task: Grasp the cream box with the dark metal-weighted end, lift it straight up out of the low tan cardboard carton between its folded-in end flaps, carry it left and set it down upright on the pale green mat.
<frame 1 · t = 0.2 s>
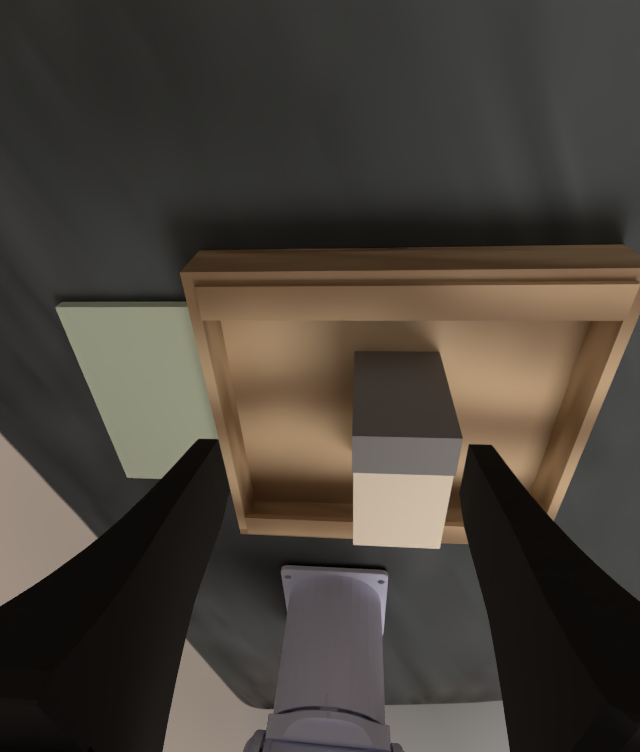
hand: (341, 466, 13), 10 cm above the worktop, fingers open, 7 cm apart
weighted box: (392, 407, 23), resting on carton
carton: (392, 402, 24), on the worktop
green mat: (160, 398, 25), on the worktop
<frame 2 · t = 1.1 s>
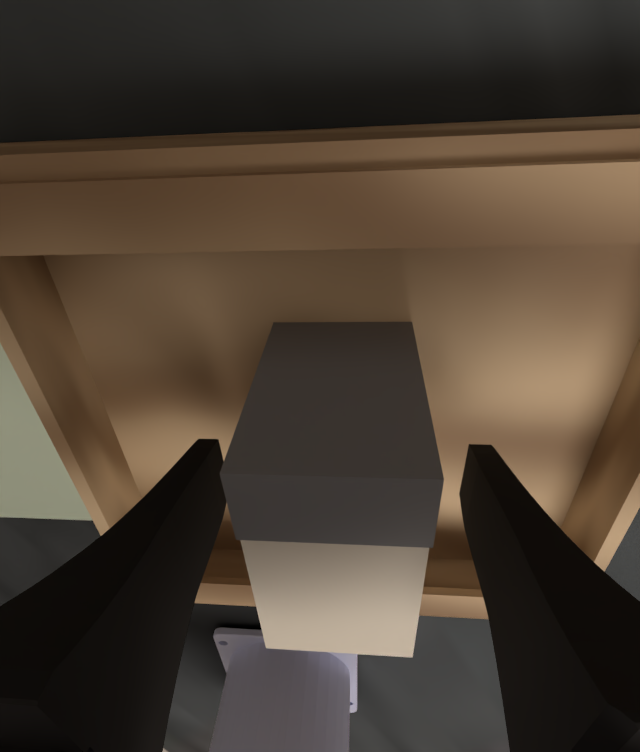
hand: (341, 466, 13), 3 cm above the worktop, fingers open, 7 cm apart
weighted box: (343, 413, 15), resting on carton
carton: (344, 406, 15), on the worktop
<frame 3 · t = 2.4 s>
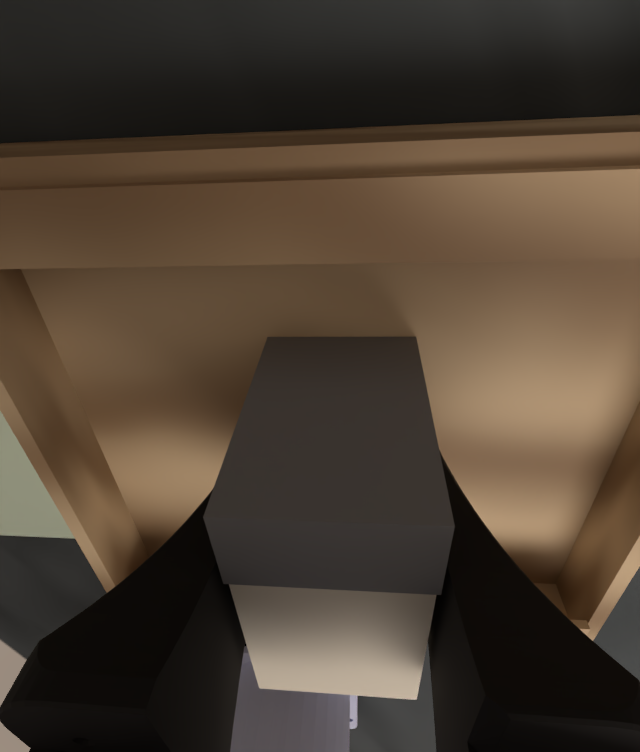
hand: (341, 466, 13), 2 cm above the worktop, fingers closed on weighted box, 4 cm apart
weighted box: (342, 431, 14), resting on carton, touching gripper
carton: (343, 423, 14), on the worktop
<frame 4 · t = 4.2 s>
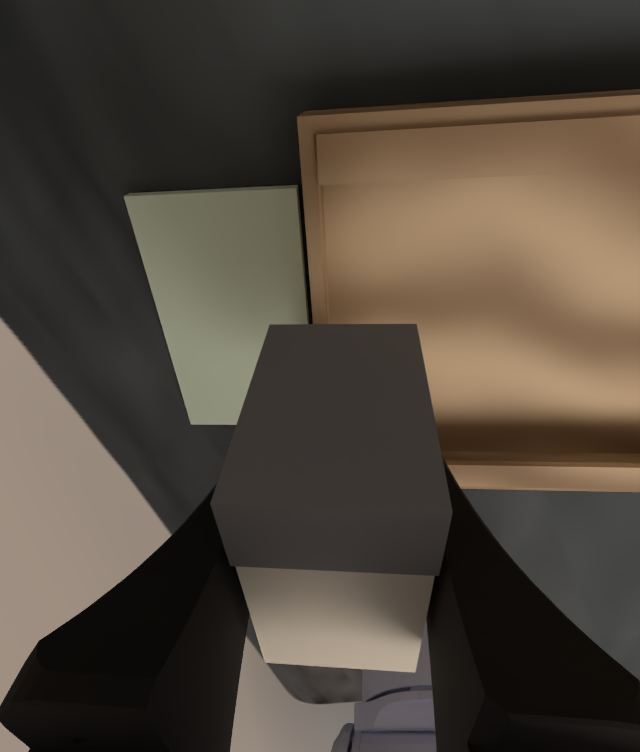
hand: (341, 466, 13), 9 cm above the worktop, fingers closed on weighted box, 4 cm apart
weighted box: (344, 417, 14), point 7 cm above the worktop, touching gripper
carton: (517, 316, 20), on the worktop
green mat: (237, 321, 21), on the worktop
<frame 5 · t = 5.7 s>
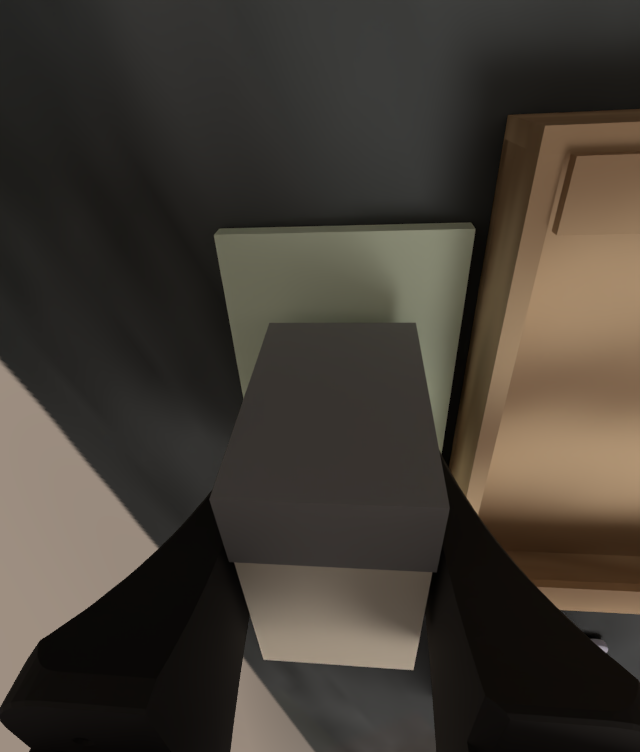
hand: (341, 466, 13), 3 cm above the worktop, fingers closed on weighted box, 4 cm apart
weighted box: (343, 415, 14), point 1 cm above the worktop, touching gripper
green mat: (344, 397, 16), on the worktop
when the fingers open (3 cm above the worktop, at t = 6.6 s): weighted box stays where it is, resting on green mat.
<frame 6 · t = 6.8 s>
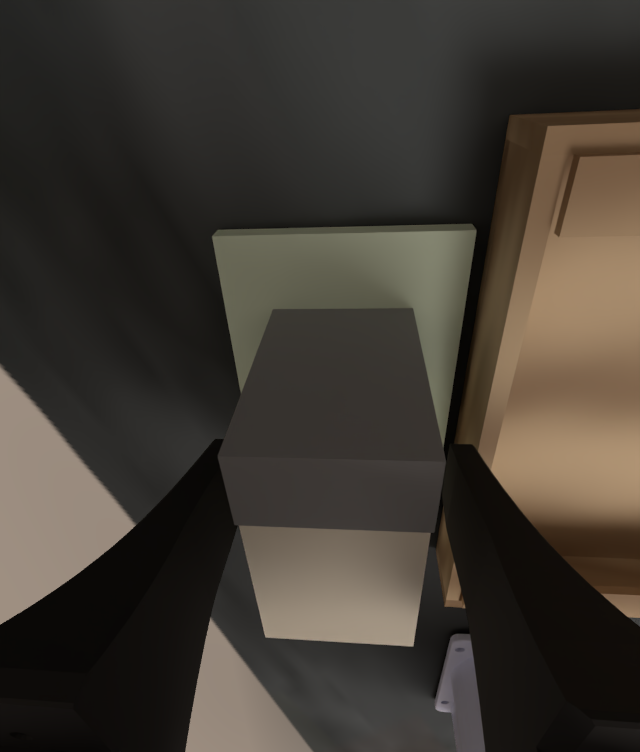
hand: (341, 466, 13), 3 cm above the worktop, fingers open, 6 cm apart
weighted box: (343, 403, 15), point 1 cm above the worktop, touching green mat
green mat: (344, 399, 16), on the worktop
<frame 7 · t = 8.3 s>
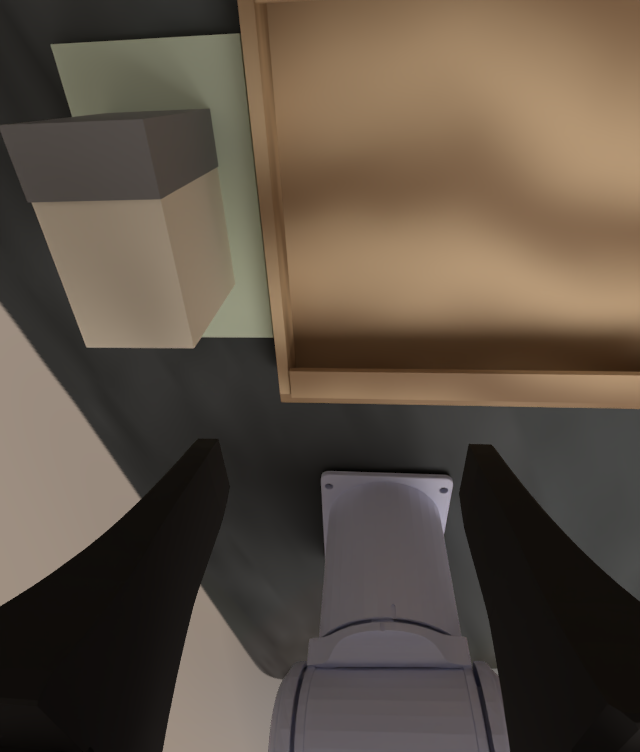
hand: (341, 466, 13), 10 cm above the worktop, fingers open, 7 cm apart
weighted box: (177, 206, 19), point 1 cm above the worktop, touching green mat
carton: (487, 204, 18), on the worktop
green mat: (183, 210, 19), on the worktop
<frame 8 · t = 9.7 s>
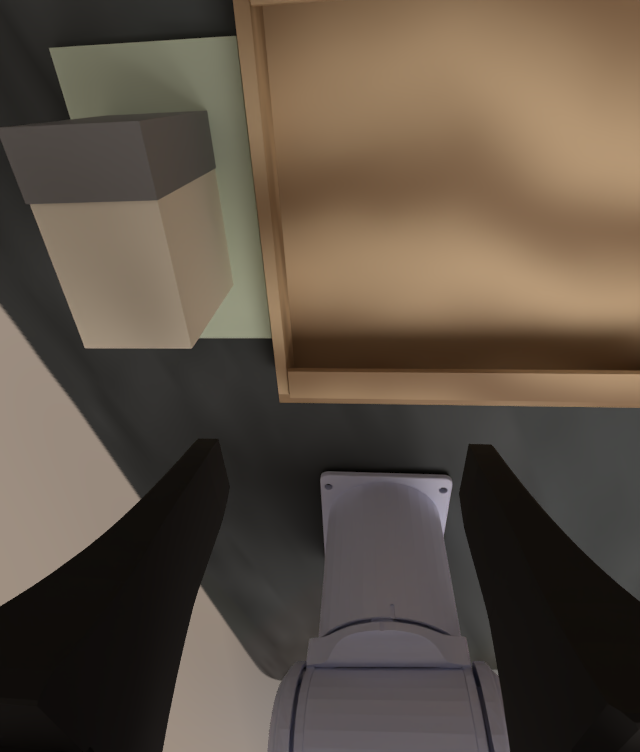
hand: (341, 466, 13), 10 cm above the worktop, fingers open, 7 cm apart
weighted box: (175, 207, 19), point 1 cm above the worktop, touching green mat
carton: (483, 204, 18), on the worktop
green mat: (182, 212, 20), on the worktop
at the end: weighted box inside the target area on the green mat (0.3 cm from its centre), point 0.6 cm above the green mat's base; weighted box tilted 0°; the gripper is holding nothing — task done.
